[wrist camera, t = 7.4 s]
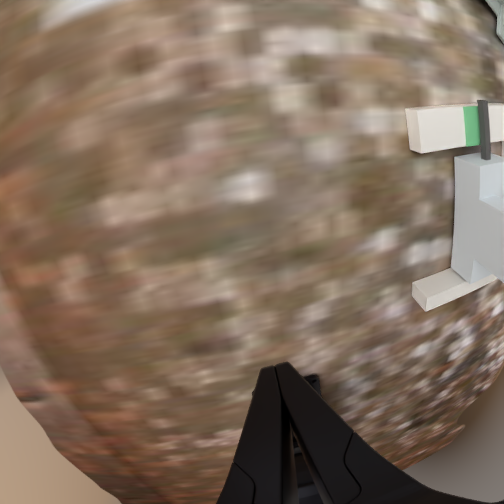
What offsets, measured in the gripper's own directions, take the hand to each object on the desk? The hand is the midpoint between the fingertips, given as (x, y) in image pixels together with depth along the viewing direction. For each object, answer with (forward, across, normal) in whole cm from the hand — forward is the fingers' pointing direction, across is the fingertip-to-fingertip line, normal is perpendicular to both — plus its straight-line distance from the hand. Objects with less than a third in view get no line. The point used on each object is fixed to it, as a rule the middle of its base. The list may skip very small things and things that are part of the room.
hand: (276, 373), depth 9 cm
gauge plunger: (+13, -19, +2) cm, 23 cm away
